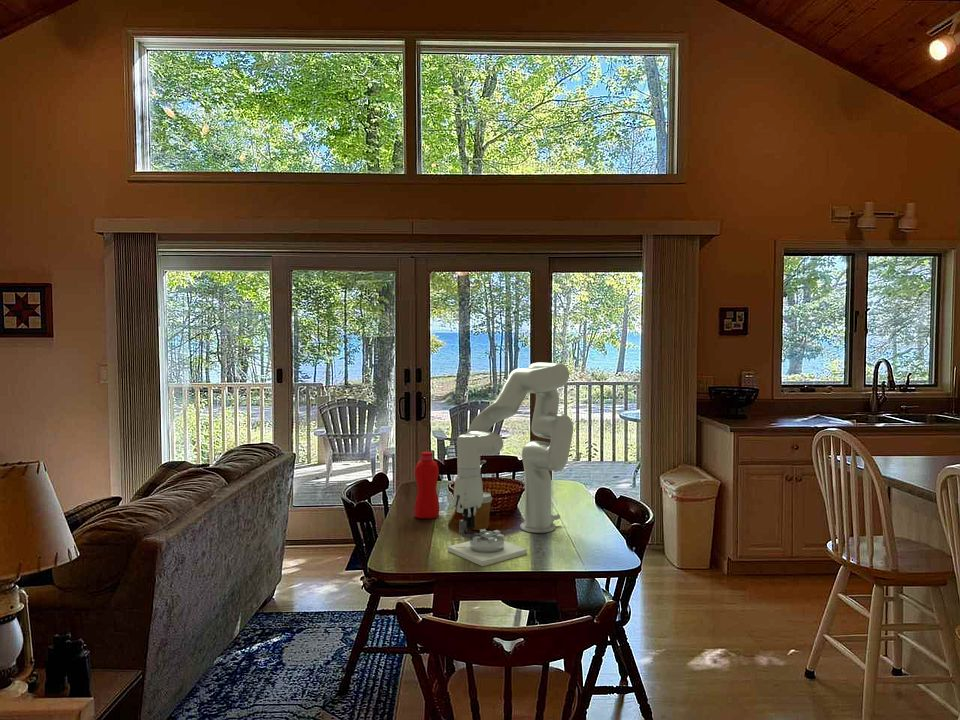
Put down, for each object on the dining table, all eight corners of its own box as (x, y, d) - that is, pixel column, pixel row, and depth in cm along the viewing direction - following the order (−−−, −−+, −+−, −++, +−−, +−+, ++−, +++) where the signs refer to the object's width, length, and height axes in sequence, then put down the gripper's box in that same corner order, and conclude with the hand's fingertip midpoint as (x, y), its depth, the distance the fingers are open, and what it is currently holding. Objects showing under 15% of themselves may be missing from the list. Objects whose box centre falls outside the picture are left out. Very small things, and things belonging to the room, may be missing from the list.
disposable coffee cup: (462, 525, 234) (462, 493, 233) (486, 522, 237) (486, 490, 237) (471, 532, 225) (471, 498, 224) (496, 529, 228) (496, 496, 228)
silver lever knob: (507, 543, 207) (507, 518, 207) (499, 554, 197) (499, 528, 197) (464, 539, 211) (464, 515, 211) (454, 550, 201) (454, 525, 200)
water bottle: (440, 512, 252) (440, 449, 251) (437, 519, 241) (437, 454, 240) (417, 511, 252) (417, 449, 252) (413, 519, 241) (413, 454, 241)
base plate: (490, 540, 216) (490, 535, 216) (526, 553, 202) (526, 548, 202) (447, 550, 205) (447, 546, 205) (482, 566, 191) (482, 561, 191)
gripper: (475, 467, 216) (476, 520, 216) (444, 474, 205) (445, 530, 205) (492, 470, 211) (492, 524, 211) (461, 477, 200) (462, 535, 200)
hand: (469, 527), depth 208 cm, fingers closed
